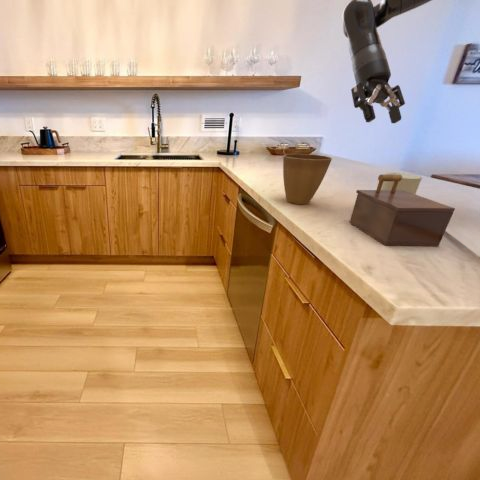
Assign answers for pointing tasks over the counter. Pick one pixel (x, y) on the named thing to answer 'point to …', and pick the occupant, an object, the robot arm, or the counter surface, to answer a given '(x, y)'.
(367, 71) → the robot arm
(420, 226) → the bread box
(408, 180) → the cream yellow block
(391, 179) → the box lid
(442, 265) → the counter surface
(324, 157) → the plant pot
